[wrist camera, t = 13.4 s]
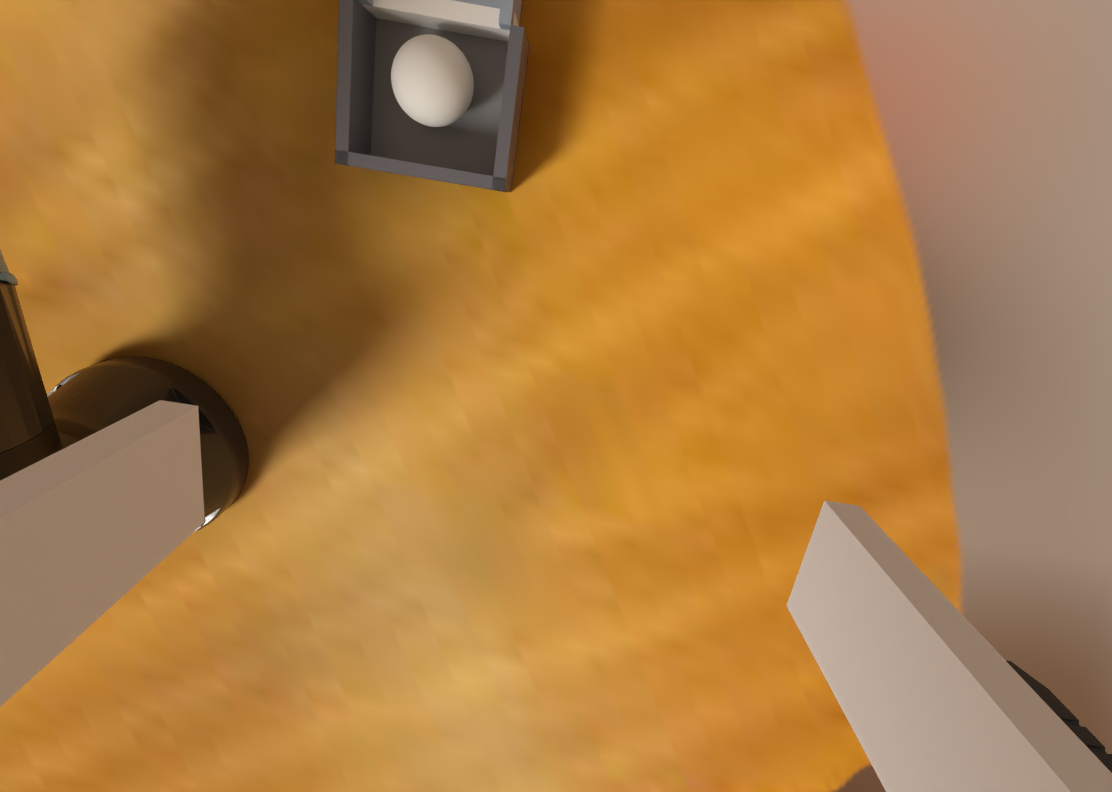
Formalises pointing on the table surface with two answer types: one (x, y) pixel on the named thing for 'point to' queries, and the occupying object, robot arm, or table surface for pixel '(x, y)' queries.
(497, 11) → the launch ramp
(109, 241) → the table surface
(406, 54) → the pale rubber ball
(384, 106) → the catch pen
